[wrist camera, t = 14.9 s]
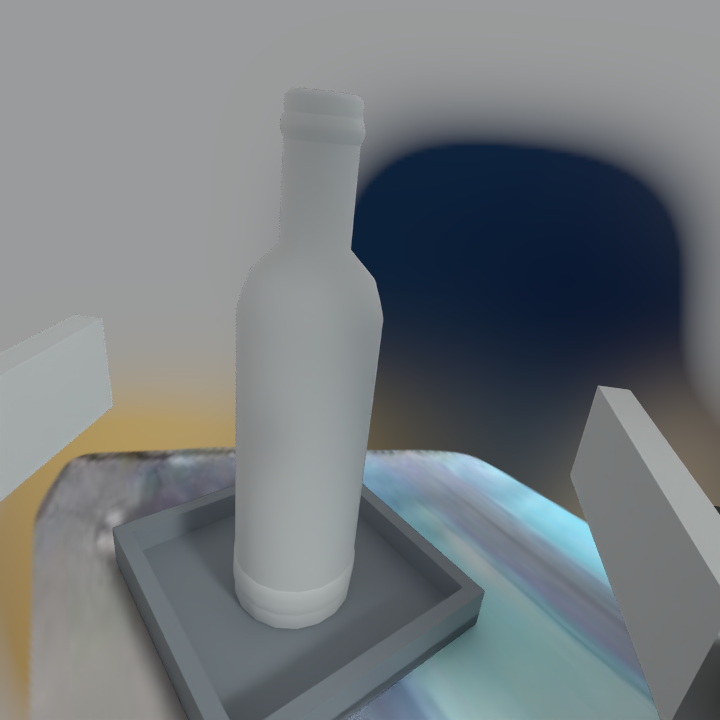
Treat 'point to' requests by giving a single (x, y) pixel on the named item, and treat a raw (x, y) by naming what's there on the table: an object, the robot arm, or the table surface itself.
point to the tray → (281, 645)
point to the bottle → (305, 376)
